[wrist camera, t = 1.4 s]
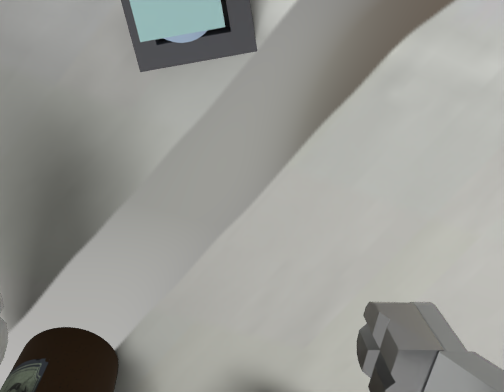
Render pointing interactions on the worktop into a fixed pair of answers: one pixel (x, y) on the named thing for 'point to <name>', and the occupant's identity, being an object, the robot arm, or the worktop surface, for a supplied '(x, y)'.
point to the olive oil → (64, 363)
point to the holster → (204, 48)
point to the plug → (176, 19)
